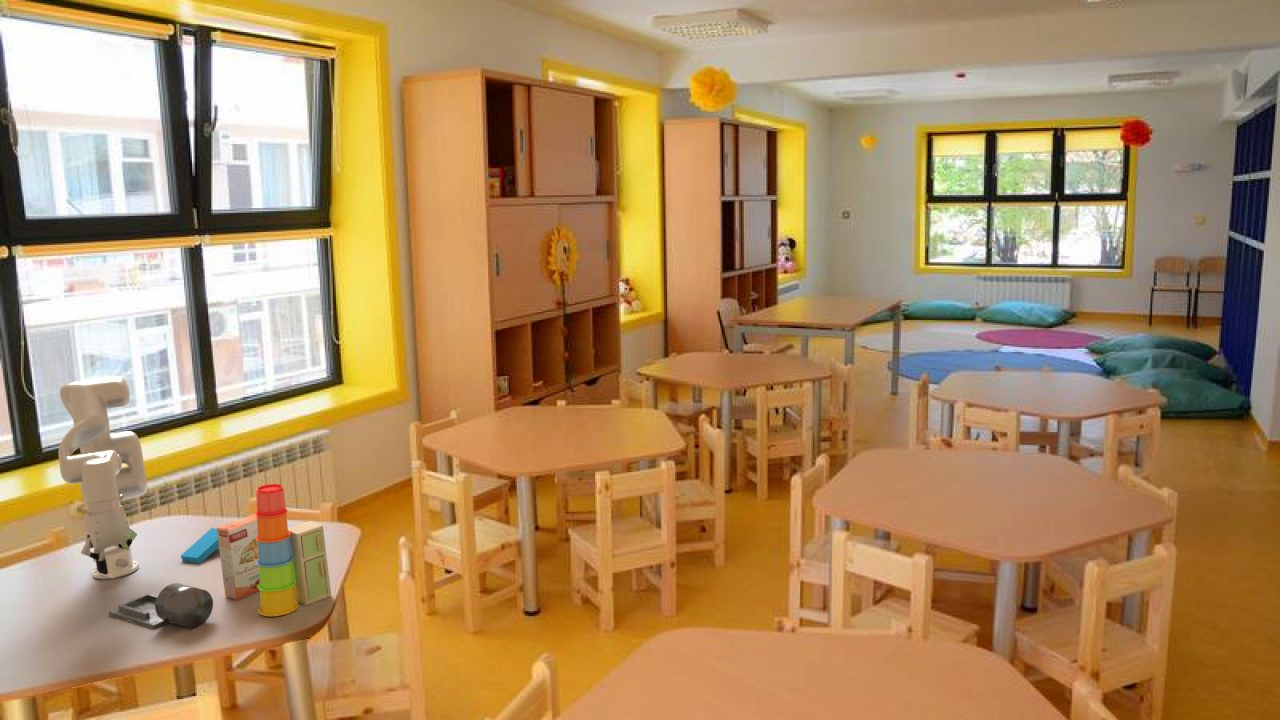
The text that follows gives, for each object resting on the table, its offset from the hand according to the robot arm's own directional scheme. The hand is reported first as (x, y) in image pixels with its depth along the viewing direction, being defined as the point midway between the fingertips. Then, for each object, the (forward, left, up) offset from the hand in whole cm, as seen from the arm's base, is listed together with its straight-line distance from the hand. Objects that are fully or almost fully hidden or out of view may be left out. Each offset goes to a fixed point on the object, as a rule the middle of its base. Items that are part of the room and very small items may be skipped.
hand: (113, 568), depth 258 cm
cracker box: (+17, +29, -15) cm, 37 cm away
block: (0, 0, -1) cm, 1 cm away
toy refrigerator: (+38, +32, -15) cm, 52 cm away
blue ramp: (-21, +44, -16) cm, 51 cm away
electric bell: (+8, +7, -15) cm, 18 cm away
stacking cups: (+35, +23, -15) cm, 44 cm away
